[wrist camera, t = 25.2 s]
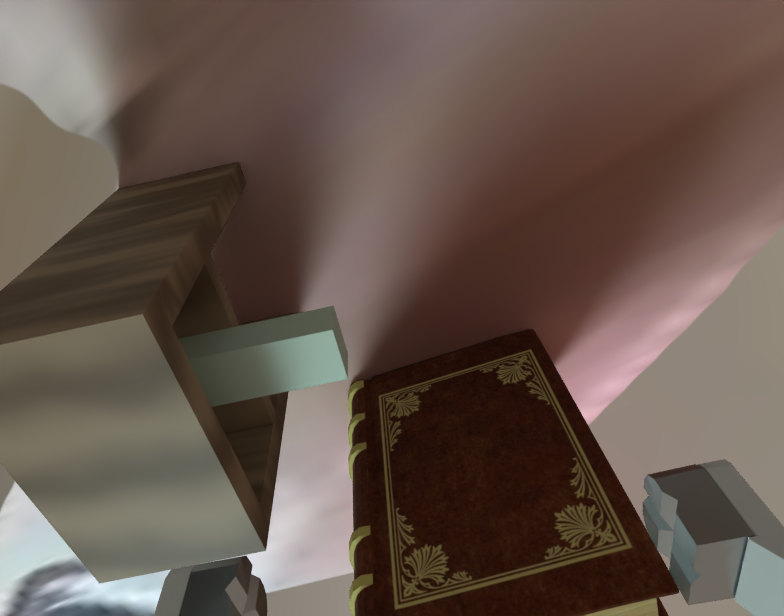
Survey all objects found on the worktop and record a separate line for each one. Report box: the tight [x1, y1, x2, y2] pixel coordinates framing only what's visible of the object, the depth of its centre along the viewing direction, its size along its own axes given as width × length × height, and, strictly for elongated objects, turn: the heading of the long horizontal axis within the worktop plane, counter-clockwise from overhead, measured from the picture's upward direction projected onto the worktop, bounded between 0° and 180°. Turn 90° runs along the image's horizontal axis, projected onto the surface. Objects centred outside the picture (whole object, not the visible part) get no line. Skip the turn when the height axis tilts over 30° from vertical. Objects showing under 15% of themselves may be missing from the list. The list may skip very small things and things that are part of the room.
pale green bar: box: [178, 306, 348, 407], centre depth 36 cm, size 4×19×3 cm, turn 101°
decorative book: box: [348, 329, 679, 616], centre depth 49 cm, size 22×8×30 cm, turn 108°
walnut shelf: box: [0, 162, 292, 583], centre depth 41 cm, size 18×11×26 cm, turn 11°
